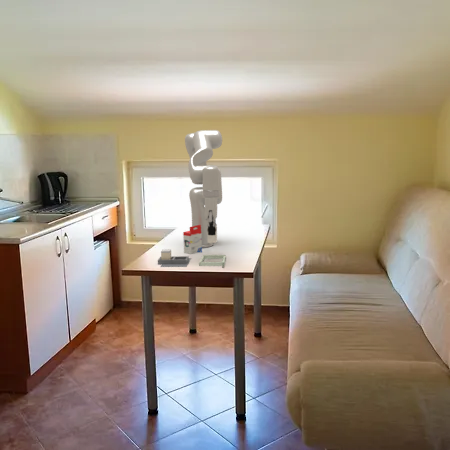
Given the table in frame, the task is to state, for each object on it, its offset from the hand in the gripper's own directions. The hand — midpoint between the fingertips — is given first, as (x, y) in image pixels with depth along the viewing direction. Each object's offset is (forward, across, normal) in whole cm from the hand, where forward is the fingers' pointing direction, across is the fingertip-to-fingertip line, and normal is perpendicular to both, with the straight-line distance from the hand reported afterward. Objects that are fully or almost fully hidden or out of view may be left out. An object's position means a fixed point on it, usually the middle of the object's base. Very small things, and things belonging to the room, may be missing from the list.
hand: (212, 233), depth 226 cm
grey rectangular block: (+4, 0, 0) cm, 4 cm away
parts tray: (+14, 0, 0) cm, 14 cm away
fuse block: (+14, +1, -17) cm, 22 cm away
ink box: (+14, -20, -12) cm, 28 cm away
